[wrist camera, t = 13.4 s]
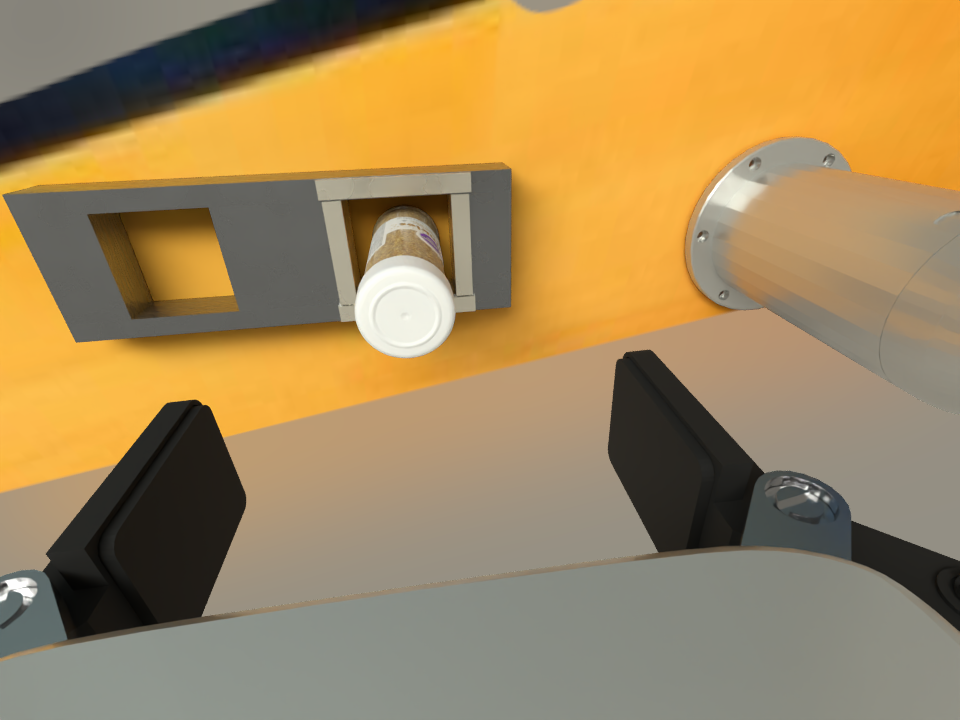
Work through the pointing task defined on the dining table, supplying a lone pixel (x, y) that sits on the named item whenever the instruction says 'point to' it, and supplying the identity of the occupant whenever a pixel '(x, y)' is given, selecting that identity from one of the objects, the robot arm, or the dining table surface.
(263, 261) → the rail
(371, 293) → the sprinkles bottle
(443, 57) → the dining table surface
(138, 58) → the dining table surface
